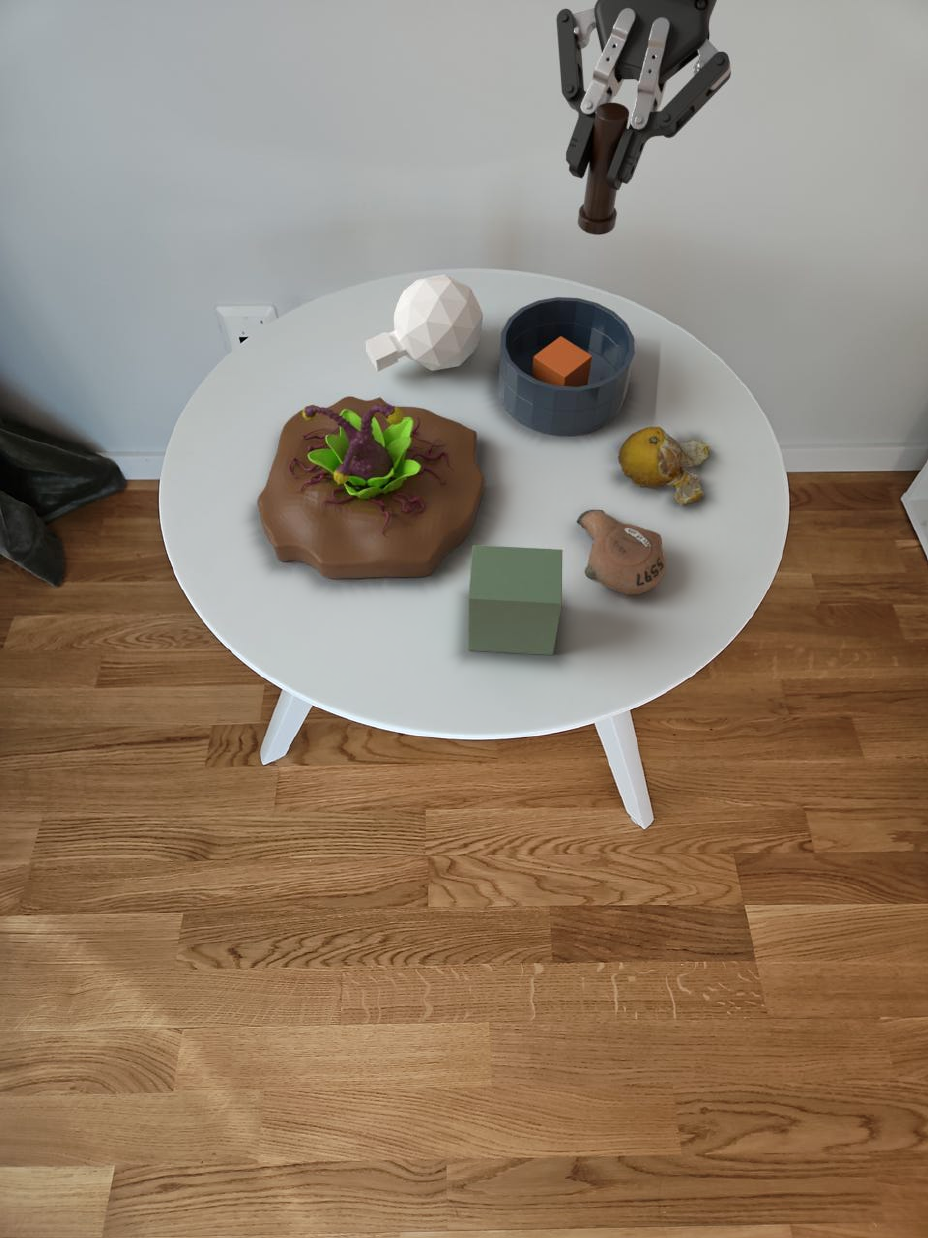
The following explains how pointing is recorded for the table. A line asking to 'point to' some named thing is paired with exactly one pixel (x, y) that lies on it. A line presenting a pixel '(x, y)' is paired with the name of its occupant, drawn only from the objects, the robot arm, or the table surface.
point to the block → (562, 364)
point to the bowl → (563, 404)
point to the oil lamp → (622, 554)
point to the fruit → (663, 462)
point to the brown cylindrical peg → (602, 170)
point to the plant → (371, 489)
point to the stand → (514, 599)
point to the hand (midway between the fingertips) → (594, 179)
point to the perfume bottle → (431, 326)
